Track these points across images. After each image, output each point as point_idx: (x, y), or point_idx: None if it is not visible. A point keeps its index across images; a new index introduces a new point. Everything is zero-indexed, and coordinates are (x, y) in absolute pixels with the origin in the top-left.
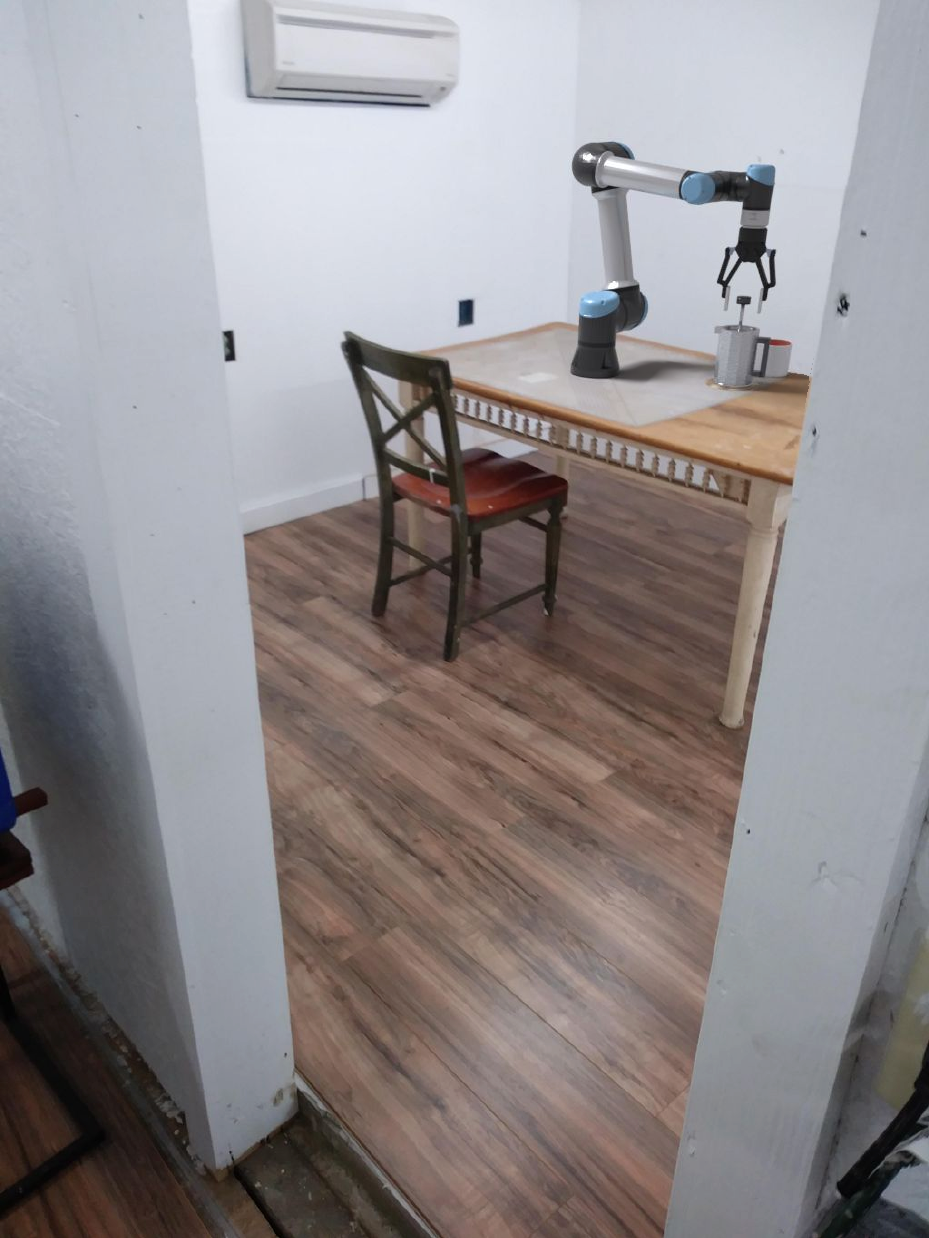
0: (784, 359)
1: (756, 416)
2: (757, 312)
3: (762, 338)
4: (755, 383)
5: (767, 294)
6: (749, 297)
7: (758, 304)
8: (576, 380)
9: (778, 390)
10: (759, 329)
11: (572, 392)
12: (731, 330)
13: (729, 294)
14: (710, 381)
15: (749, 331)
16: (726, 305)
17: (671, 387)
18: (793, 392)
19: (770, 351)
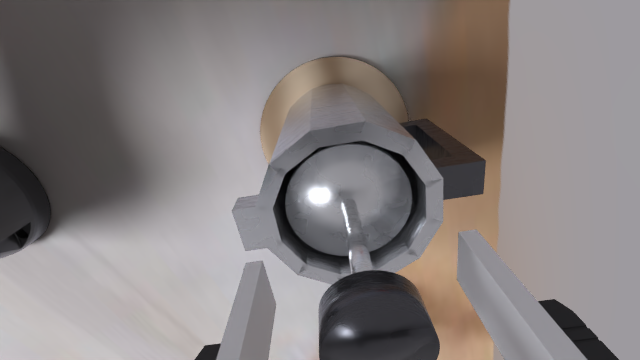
0: None
1: (434, 313)
2: (461, 283)
3: (450, 198)
4: (390, 96)
5: (602, 350)
6: (425, 357)
7: (484, 324)
8: (22, 272)
9: (456, 111)
10: (441, 186)
11: (92, 338)
12: (303, 183)
13: (243, 354)
14: (275, 143)
15: (385, 161)
16: (268, 333)
17: (216, 222)
18: (496, 110)
19: None
